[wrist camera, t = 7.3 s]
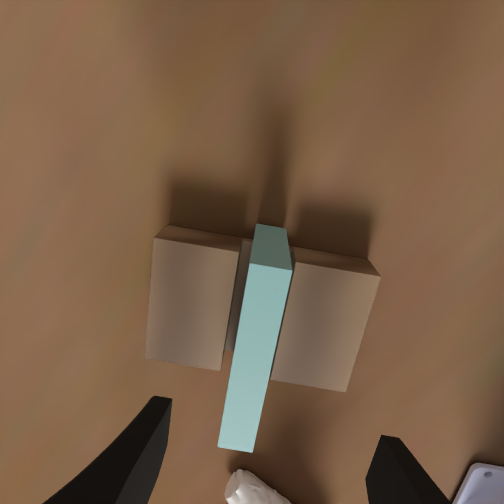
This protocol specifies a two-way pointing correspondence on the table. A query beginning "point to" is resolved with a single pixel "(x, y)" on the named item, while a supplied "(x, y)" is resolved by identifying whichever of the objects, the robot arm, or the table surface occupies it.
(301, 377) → the slot block
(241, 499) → the sitting furry creature
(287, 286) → the teal rectangular block
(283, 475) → the table surface
